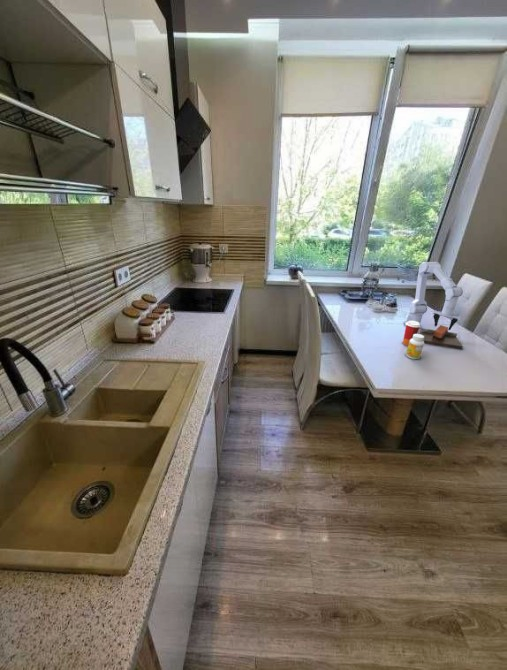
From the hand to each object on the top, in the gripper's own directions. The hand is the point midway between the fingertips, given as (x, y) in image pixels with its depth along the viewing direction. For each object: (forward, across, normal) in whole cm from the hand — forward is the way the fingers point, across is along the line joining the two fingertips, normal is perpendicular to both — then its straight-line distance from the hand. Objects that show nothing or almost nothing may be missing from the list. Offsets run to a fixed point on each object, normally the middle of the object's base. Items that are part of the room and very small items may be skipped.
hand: (442, 327), depth 170 cm
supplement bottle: (+8, +1, +36) cm, 37 cm away
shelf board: (+8, -1, +2) cm, 8 cm away
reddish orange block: (+5, 0, 0) cm, 5 cm away
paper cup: (+8, +9, +23) cm, 26 cm away
